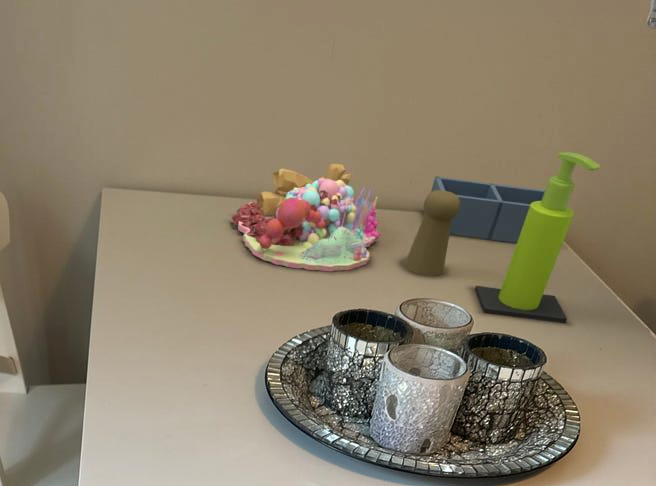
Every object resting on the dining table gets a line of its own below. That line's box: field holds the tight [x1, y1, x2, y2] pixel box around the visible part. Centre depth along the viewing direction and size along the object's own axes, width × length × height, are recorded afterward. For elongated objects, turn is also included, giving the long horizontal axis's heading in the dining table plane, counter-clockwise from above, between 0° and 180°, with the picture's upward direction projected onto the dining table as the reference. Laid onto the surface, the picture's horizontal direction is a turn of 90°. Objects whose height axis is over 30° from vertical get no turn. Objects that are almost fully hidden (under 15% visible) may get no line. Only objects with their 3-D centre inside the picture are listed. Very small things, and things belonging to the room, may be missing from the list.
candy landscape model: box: [231, 163, 380, 272], centre depth 142 cm, size 25×24×9 cm
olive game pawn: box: [404, 190, 460, 277], centre depth 137 cm, size 6×6×11 cm
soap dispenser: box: [498, 151, 601, 310], centre depth 127 cm, size 6×7×20 cm
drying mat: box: [474, 285, 568, 324], centre depth 134 cm, size 12×8×1 cm, turn 86°
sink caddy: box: [430, 175, 546, 244], centre depth 154 cm, size 19×9×6 cm, turn 86°
